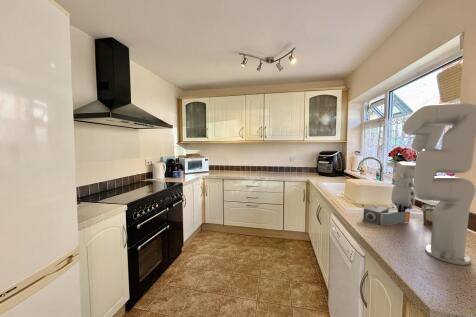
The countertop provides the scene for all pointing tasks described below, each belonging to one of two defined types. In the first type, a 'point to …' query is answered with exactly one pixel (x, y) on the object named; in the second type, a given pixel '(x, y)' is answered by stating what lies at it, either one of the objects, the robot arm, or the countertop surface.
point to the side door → (394, 218)
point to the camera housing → (374, 214)
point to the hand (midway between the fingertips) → (400, 216)
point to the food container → (428, 214)
